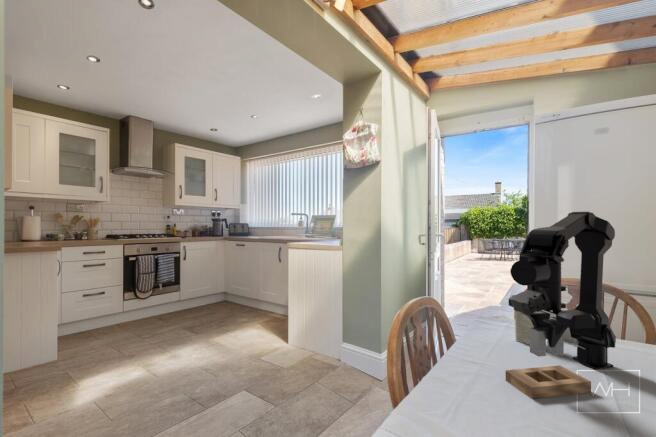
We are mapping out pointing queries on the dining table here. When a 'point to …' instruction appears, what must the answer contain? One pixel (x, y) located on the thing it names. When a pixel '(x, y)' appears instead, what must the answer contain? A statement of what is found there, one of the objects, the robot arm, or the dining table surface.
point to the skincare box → (522, 327)
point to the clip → (544, 342)
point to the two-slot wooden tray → (547, 381)
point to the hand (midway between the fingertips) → (546, 344)
